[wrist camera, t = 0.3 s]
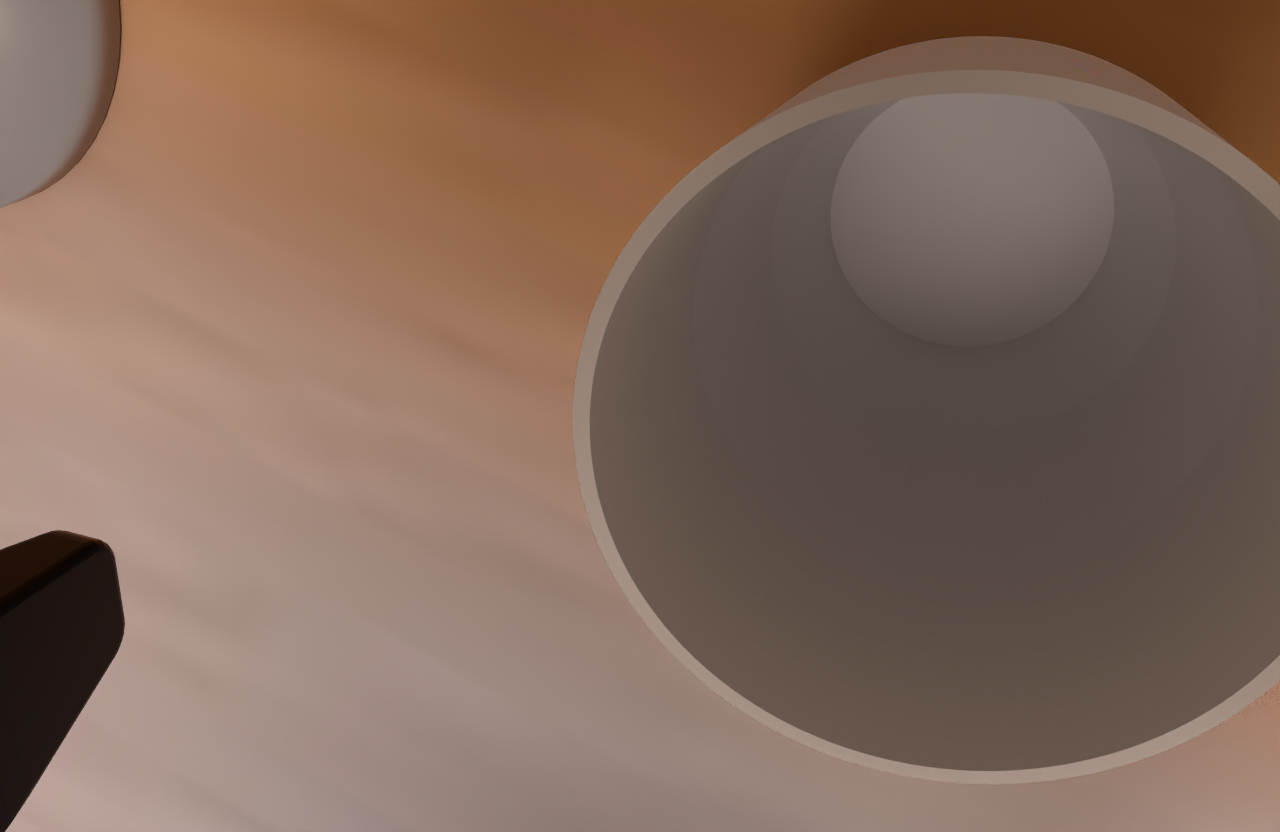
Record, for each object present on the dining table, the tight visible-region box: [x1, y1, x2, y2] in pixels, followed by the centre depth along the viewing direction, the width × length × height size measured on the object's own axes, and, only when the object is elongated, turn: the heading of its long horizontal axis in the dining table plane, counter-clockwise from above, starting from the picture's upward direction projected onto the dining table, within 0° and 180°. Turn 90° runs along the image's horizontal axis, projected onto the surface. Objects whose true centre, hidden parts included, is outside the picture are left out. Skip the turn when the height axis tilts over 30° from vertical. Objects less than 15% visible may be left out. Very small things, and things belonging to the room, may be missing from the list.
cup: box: [573, 36, 1280, 784], centre depth 17 cm, size 8×8×10 cm
